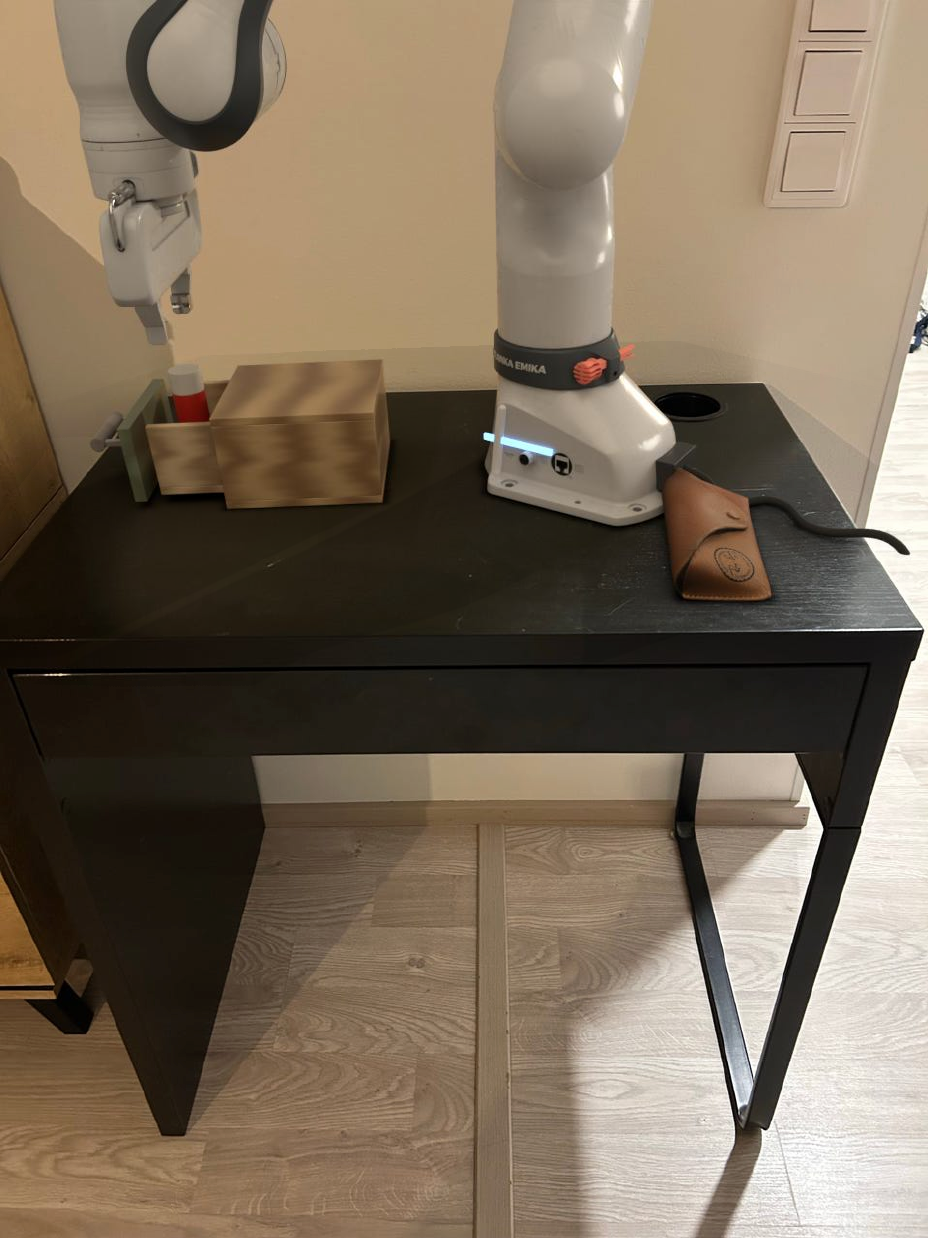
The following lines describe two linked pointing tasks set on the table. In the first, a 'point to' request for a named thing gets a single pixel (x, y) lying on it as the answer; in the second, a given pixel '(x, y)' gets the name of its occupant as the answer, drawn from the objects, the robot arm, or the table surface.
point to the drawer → (164, 445)
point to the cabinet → (303, 434)
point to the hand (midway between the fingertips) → (172, 326)
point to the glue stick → (188, 393)
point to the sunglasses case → (711, 542)
